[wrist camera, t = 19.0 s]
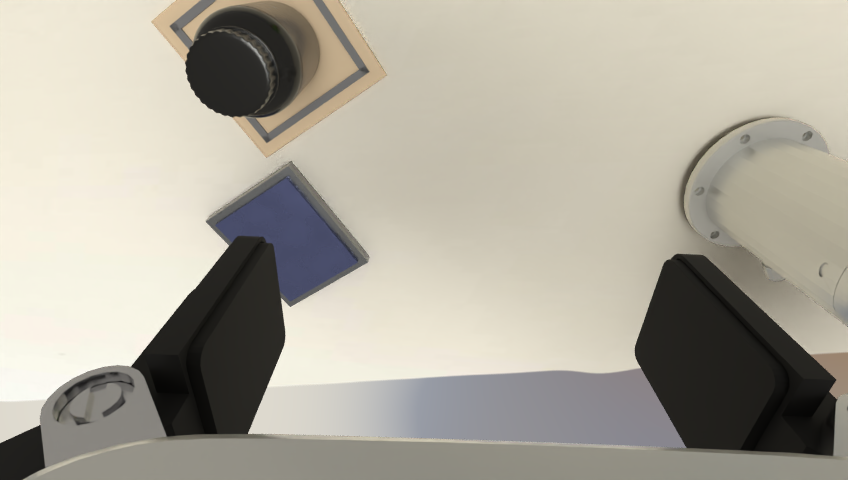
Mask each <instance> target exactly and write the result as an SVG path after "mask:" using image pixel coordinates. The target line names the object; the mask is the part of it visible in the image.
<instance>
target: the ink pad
mask: <svg viewBox="0 0 848 480" xmlns="http://www.w3.org/2000/svg"><path fill="white" fill-rule="evenodd" d="M206 223H207V224H208V225H209V226H210V227H211V228H212V229H213V230H214V231H215V232H216V233H217V234H218V235H219V236H220V237H221V238H222V239H223V240H224V241H225V242H226V243H227V244H228V245H229V246H230V245H231V243H232V242H233V241H234V239H235V238H236V237H237V236H258V237H264V238H265V240H266V243H272V244H273V246H274V251H275V259H276V266H277V274H278V281H279V289H280V296H281V298H282V299H283V300H284V301H285V302H286V303H287V304H288V305H289V306H290V307H291V306H293V305H294V304H296V303H298V302H300V301H301V300H303V299H305V298H307V297H308V296H310V295H312V294H314V293H315V292H317V291H319V290H321V289H322V288H324V287H326V286H327V285H329V284H331V283H333V282H334V281H336V280H338V279H340V278H341V277H343V276H345V275H347V274H348V273H350V272H352V271H354V270H355V269H357V268H359V267H361V266H362V265H364V264H366V263H368V259H369V255H368V254H367V253H366V252H365V251H364V249H363V248H362V247H361V246H360V244H359V243H358V242H357V241H356V240H355V238H354V237H353V236H352V235H351V234H350V232H349V231H348V230H347V229H346V227H345V226H344V225H343V224H342V223H341V221H340V220H339V219H338V218H337V216H336V215H335V214H334V213H333V212H332V210H331V209H330V208H329V207H328V205H327V204H326V203H325V202H324V201H323V199H322V198H321V197H320V196H319V195H318V193H317V192H316V191H315V190H314V188H313V187H312V186H311V185H310V184H309V182H308V181H307V180H306V179H305V177H304V176H303V175H302V174H301V173H300V171H299V170H298V169H297V168H296V167H295V165H294V164H293V163H292V162H290V163H288V164H287V165H285V166H284V167H282V168H281V169H279V170H278V171H276V172H275V173H273V174H272V175H270V176H269V177H267V178H266V179H264V180H263V181H261V182H260V183H258V184H257V185H255V186H254V187H253V188H251V189H250V190H248V191H247V192H245V193H244V194H242V195H241V196H239V197H238V198H236V199H235V200H233V201H232V202H230V203H229V204H227V205H226V206H224V207H223V208H221V209H220V210H218V211H217V212H215V213H214V214H212V215H211V216H210V217H209V218H208V219H207V220H206Z"/></svg>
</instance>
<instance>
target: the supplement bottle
mask: <svg viewBox="0 0 848 480" xmlns="http://www.w3.org/2000/svg"><path fill="white" fill-rule="evenodd" d="M319 59H320V49H319V43H318V39H317V36H316V34H315V32H314V30H313V28H312V26H311V25H310V23H309V22H308V21H307V19H306V18H305V17H304V16H303V15H302V14H301V13H300V12H298V11H297V10H296V9H294V8H292V7H291V6H289V5H286V4H284V3H280V2H276V1H259V2H253V3H247V4H240V5H234V6H229V7H225V8H222V9H219V10H217V11H215V12H213V13H212V14H210V15H209V16H208V17H207V18H205V19H204V21H203V22H202V23H201V24H200V26H199V27H198V29H197V31H196V33H195V36H194V40H193V44H192V46H190V48H189V52H188V53H187V60H186V62H185V64H186V74H187V75H188V76H187V80H188V81H189V83H190V86H191V89H192V90H193V91H194V92H195V95H196V96H197V97H198V98H199V99H200V101H201V102H202V103H203V104H205V105H206V106H207V107H208V108H209V109H213V110H214V111H215V112H216V113H221V114H222V115H224V116H227V115H228V116H230V117H235V116H236V117H242V116H243V117H247V118H265V117H270V116H273V115H275V114H277V113H279V112H281V111H282V110H284V109H285V108H286V107H288V106H289V105H290V104H291V103H292V102H293V101H294V99H295V98H296V97H297V96H298V95H299V94H300V93H301V92H302V90H303V89H304V88H305V87H306V86H307V85H308V84H309V82H310V81H311V80H312V78H313V77H314V75H315V73H316V71H317V68H318V65H319Z"/></svg>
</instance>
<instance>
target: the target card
mask: <svg viewBox="0 0 848 480" xmlns="http://www.w3.org/2000/svg"><path fill="white" fill-rule="evenodd" d="M259 1H276V2H280V3H284V4H286V5H289V6H291V7H292V8H294V9H296V10H297V11H298V12H300V13H301V14H302V15H303V16H304V17H305V18H306V19H307V21H308V22H309V23H310V25H311V26H312V28H313V30H314V32H315V34H316V36H317V39H318V43H319V49H320V59H319V65H318V68H317V71H316V73H315V75H314V77H313V78H312V80H311V81H310V82H309V84H308V85H307V86H306V87H305V88H304V89H303V90H302V92H301V93H300V94H299V95H298V96H297V97H296V98H295V99H294V101H293V102H292V103H291V104H290V105H289V106H288V107H286V108H285V109H284V110H282V111H281V112H279V113H277V114H275V115H273V116H270V117H265V118H247V117H243V116H242V117H236V116H235V117H232V118H233V119H234V120H235V121H236V122H237V124H238V125H239V126H240V127H241V128H242V129H243V131H244V132H245V133H246V134H247V135H248V137H249V138H250V139H251V140H252V141H253V142H254V144H255V145H256V146H257V147H258V148H259V150H260V151H261V152H262V153H263V154H264V155H265V157H266V158H267V157H268V156H270V155H271V154H273V153H274V152H276V151H277V150H279V149H280V148H282V147H283V146H284V145H286V144H287V143H289V142H290V141H292V140H293V139H295V138H296V137H298V136H299V135H301V134H302V133H303V132H305V131H306V130H308V129H309V128H311V127H312V126H314V125H315V124H317V123H318V122H319V121H321V120H322V119H324V118H325V117H327V116H328V115H330V114H331V113H333V112H334V111H336V110H337V109H338V108H340V107H341V106H343V105H344V104H346V103H347V102H349V101H350V100H352V99H353V98H355V97H356V96H357V95H359V94H360V93H362V92H363V91H365V90H366V89H368V88H369V87H371V86H372V85H373V84H375V83H376V82H378V81H379V80H381V79H382V78H384V77H385V76H387V75H386V73H385V71H384V70H383V68H382V67H381V65H380V64H379V62H378V61H377V59H376V57H375V56H374V54H373V53H372V51H371V50H370V48H369V47H368V45H367V43H366V42H365V40H364V39H363V37H362V36H361V34H360V32H359V31H358V29H357V28H356V26H355V25H354V23H353V22H352V20H351V18H350V17H349V15H348V14H347V12H346V11H345V9H344V8H343V6H342V4H341V3H340V1H339V0H176V1H175V2H174V3H172V4H171V5H170V6H169V7H168V8H167V9H165V10H164V11H163V12H162V13H161V14H159V15H158V16H157V17H156V18H155V19H154V20H152V21H151V22H152V23H153V24H154V26H155V27H156V28H157V29H158V30H159V31H160V33H161V34H162V35H163V36H164V37H165V39H166V40H167V41H168V42H169V43H170V44H171V46H172V47H173V48H174V49H175V50H176V52H177V53H178V54H179V55H180V56H181V57H182V59H183V60H184V61H185V62H186V60H187V53H188V52H189V48H190V46H192V44H193V40H194V36H195V33H196V31H197V29H198V27H199V26H200V24H201V23H202V22H203V21H204V19H205V18H207V17H208V16H209V15H210V14H212V13H213V12H215V11H217V10H219V9H222V8H225V7H229V6H234V5H240V4H247V3H253V2H259Z"/></svg>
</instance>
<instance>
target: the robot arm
mask: <svg viewBox="0 0 848 480" xmlns="http://www.w3.org/2000/svg"><path fill="white" fill-rule="evenodd" d="M684 209H685V214H686V218H687V219H688V221H689V223H690V225H691V227H692V228H693V229H694V230H695V231H696V232H697V233H698V234H700V235H701V236H702V237H704V238H705V239H706V240H708V241H710V242H712V243H715V244H718V245H723V246H735V247H738V246H743V247H744V248H746V249H747V250H748V251H750V252H751V253H752V254H753V255H755V256H756V257H757V258H759V259H760V260H761V261H762V265H763V268H764V271H765V275H766V277H767V278H768V279H769V280H772V281H782V280H785V279H786V280H787V281H789V282H790V283H791V284H793V285H794V286H795V287H796V288H798V289H799V290H800V291H802V292H803V293H804V294H806V295H807V296H808V297H809V298H811V299H812V300H813V301H815V302H816V303H817V304H819V305H820V306H821V307H822V308H824V309H825V310H826V311H828V312H829V313H830V314H832V315H833V316H834V317H836V318H837V319H838V320H839V321H841V322H842V323H843V324H845V325H846V326H847V327H848V161H845V160H842V159H840V158H837V157H835V156H832V155H830V152H829V149H828V146H827V143H826V141H825V139H824V138H823V137H822V135H821V134H820V133H819V132H818V131H817V130H816V129H814V128H813V127H812V126H810V125H807V124H805V123H802V122H800V121H796V120H793V119H789V118H768V119H761V120H758V121H754V122H751V123H748V124H746V125H743V126H741V127H739V128H737V129H735V130H733V131H732V132H730V133H729V134H727V135H726V136H724V137H723V138H721V139H720V140H719V141H718V142H717V143H715V144H714V145H713V146H712V147H711V148H710V149H709V150H708V151H707V152H706V153H705V154H704V156H703V157H702V158H701V159H700V160H699V162H698V163H697V165H696V167H695V168H694V170H693V171H692V173H691V176H690V178H689V180H688V183H687V185H686V190H685V195H684ZM284 343H285V326H284V319H283V311H282V304H281V296H280V289H279V281H278V274H277V266H276V259H275V251H274V246H273V244H272V243H266V240H265V238H264V237H258V236H237V237H236V238H235V239H234V241H233V242H232V243H231V245H230V246H229V247H228V248H227V250H226V251H225V252H224V253H223V255H222V256H221V257H220V258H219V260H218V261H217V262H216V263H215V265H214V266H213V267H212V268H211V270H210V271H209V272H208V274H207V275H206V276H205V277H204V279H203V280H202V281H201V282H200V284H199V285H198V286H197V287H196V289H194V290H193V291H192V292H191V293H190V294H189V295H188V296H187V297H186V299H185V300H184V301H183V302H182V304H181V305H180V306H179V307H178V309H177V310H176V311H175V312H174V314H173V315H172V316H171V317H170V319H169V320H168V321H167V322H166V324H165V325H164V326H163V327H162V329H161V330H160V331H159V332H158V334H157V335H156V336H155V337H154V339H153V340H152V341H151V342H150V344H149V345H148V346H147V347H146V349H145V350H144V351H143V352H142V354H141V355H140V356H139V357H138V359H137V360H136V361H135V362H134V364H133V365H132V366H131V367H129V366H120V365H117V366H108V367H102V368H98V369H95V370H92V371H88V372H86V373H84V374H82V375H79V376H77V377H75V378H73V379H72V380H70V381H68V382H67V383H65V384H64V385H62V386H61V387H59V388H58V389H57V390H56V391H55V392H54V393H53V394H52V395H51V396H50V397H49V398H48V399H47V401H46V403H45V404H44V406H43V407H42V410H41V416H40V424H41V425H39V426H37V427H35V428H33V429H30V430H28V431H26V432H24V433H22V434H19V435H17V436H15V437H13V438H11V439H8V440H6V441H4V442H2V443H0V480H848V393H846V394H844V395H842V396H839V397H838V399H836V398H835V397H833V395H832V394H831V393H830V392H829V391H830V389H831V387H832V386H833V384H834V383H835V381H836V379H835V378H834V377H833V376H832V375H830V373H828V372H827V371H826V370H825V369H824V368H823V367H822V366H821V365H820V364H819V363H818V362H817V361H816V360H815V359H814V358H813V357H811V356H810V355H809V354H808V353H807V352H806V351H805V350H804V349H803V348H802V347H801V346H800V345H799V344H798V343H797V342H796V341H795V340H793V339H792V338H791V337H790V336H789V335H788V334H787V333H786V332H785V331H784V330H783V329H782V328H781V327H780V326H779V325H778V324H776V323H775V322H774V321H773V320H772V319H771V318H770V317H769V316H768V315H767V314H766V313H765V312H764V311H763V310H762V309H761V308H759V307H758V306H757V305H756V304H755V303H754V302H753V301H752V300H751V299H750V298H749V297H748V296H747V295H746V294H745V293H744V292H742V291H741V290H740V289H739V288H738V287H737V286H736V285H735V284H734V283H733V282H732V281H731V280H730V279H729V278H728V277H727V276H725V275H724V274H723V273H722V272H721V271H720V270H719V269H718V268H717V267H716V266H715V265H714V264H713V263H712V262H711V261H710V260H708V259H707V258H706V257H705V256H703V255H691V254H676V255H674V256H673V257H672V258H671V260H667V261H666V262H665V263H664V265H663V267H662V270H661V273H660V276H659V279H658V282H657V285H656V288H655V290H654V293H653V296H652V299H651V302H650V305H649V308H648V311H647V313H646V316H645V319H644V322H643V325H642V328H641V331H640V334H639V337H638V339H637V342H636V346H635V356H636V360H637V362H638V364H639V365H640V367H641V369H642V371H643V372H644V374H645V376H646V378H647V379H648V381H649V383H650V384H651V386H652V388H653V390H654V392H655V393H656V395H657V397H658V399H659V400H660V402H661V404H662V405H663V407H664V409H665V411H666V413H667V414H668V416H669V418H670V420H671V421H672V423H673V425H674V427H675V428H676V430H677V432H678V434H679V435H680V437H681V438H682V440H683V442H684V444H685V446H686V447H687V448H671V447H647V446H622V445H597V444H571V443H544V442H514V441H486V440H457V439H426V438H393V437H392V438H390V437H360V436H327V435H326V436H324V435H285V434H248V432H249V429H250V427H251V425H252V422H253V420H254V417H255V415H256V412H257V410H258V407H259V405H260V403H261V400H262V398H263V395H264V393H265V391H266V388H267V386H268V383H269V381H270V378H271V376H272V374H273V371H274V369H275V366H276V364H277V361H278V359H279V357H280V354H281V352H282V349H283V347H284Z"/></svg>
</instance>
